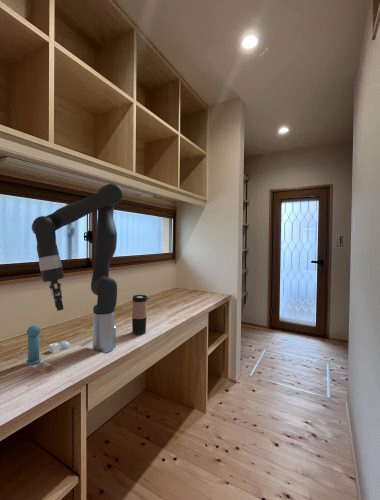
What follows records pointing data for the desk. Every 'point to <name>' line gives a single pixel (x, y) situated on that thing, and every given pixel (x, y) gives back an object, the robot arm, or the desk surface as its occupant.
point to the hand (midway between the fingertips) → (59, 308)
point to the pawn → (33, 345)
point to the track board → (43, 365)
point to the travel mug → (139, 314)
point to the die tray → (59, 346)
